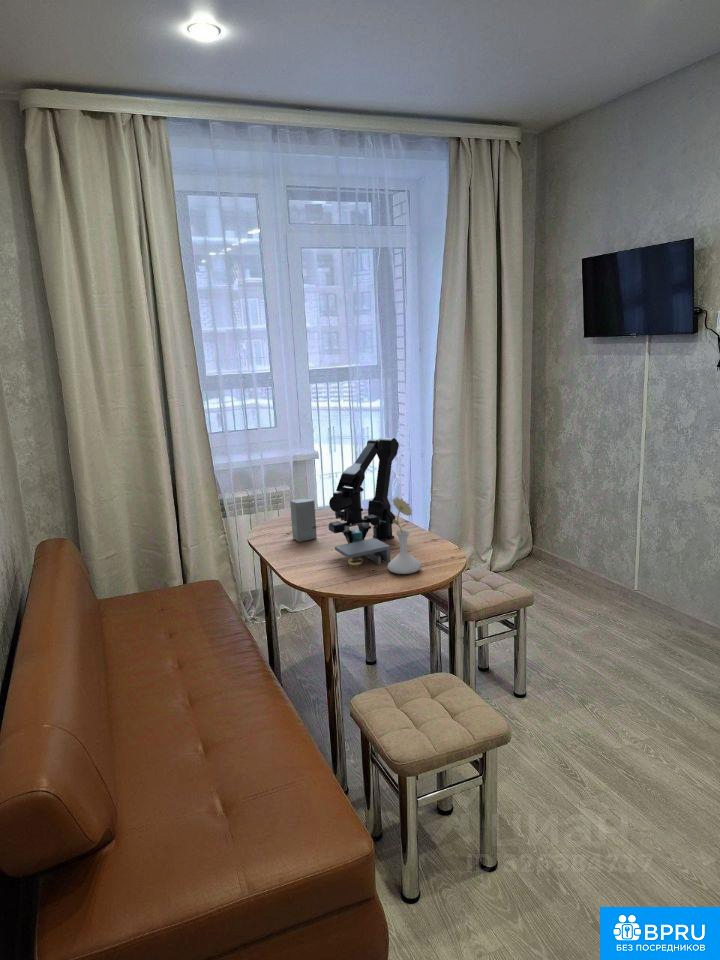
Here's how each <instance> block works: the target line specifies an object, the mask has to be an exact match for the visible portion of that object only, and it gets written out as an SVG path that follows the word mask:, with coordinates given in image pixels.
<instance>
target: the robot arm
mask: <svg viewBox="0 0 720 960" xmlns="http://www.w3.org/2000/svg"><path fill="white" fill-rule="evenodd" d="M399 447H400V444H399V442H398V440H397V439H396V438H393V437H379V438H370V439H368V440H367V442H366V445H365V447H364V448H363V450H362V451H361V453H360V454H359V455H358V457H357V459H356V460H355V462H354V463H353V464H352V465H351V466H348V467H347V468H346V469H345V470H344V471H343V472H342V473H341V474H340V475H341V476H340V478H339V481H338V483H337V486H336V492H333V493H332V497H330V498H329V502H328V505H329V508H330V509H331V511H333V512H334V516H335V519H336V520H337V521H333V522H332V521H331V522H329V523H328V531H330V532H331V533H333V534H340V533H342V534H343V536H344V537H345V539H346V542H347V544H349V543H352V530H350V528H351V527H352V528H353V527H356V526H357V527H358V530H359V531H361V532H362V537H363V540H366V539H365V538H366V537H367V535H368V532H369V530H370V529H372V531H373V532H372V533H373V534H372V537H373V538H376V539H378V540H380V541H384V540H390V539H395V535H393V526H392V525H393V524H394V523H393V519H395V520H396V515H395V514H394V513H393V512H392V511H391V503H390V501H389V499H388V498H389V496H388V495H389V489H390V480H391V473H392V472H391V471H392V465H393V460H394V459H395V458H396V457H397V455H398V451H399ZM376 455H377V458H378V467H377V473H376V474H377V476H376V482H375V483H376V484H375V491H374V497H373V498H372V500H369V501H368V507H367V515H364V516H362V515H363V514H362V513H363V511H364V508H363V507H362V500H361V493H362V492H364V488H363V487H362V485H363V483H364V481H365V479H366V475H365V473H366V471H367V469H368V468H369V466H370V465H371V463H372V462H373V460H374V458H375V457H376ZM338 519H339V520H340V521H339V520H338ZM342 521H344V522H342ZM370 524H371V526H370ZM372 526H373V527H372Z"/></svg>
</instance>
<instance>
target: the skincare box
mask: <svg viewBox="0 0 720 960" xmlns="http://www.w3.org/2000/svg"><path fill="white" fill-rule="evenodd" d="M315 503H316V502H315V500H314V499H311V498H309V497H308V498H299V499H293V500H289V504H290V516H291V517H290V518H291V519H290V520H291V531H292V532H291V533H292V539H294V540H295V541H297V542H298V543H301V542H307V541H311V540H315V539H317V537H318V536H317V523H316V522H317V521H316V507H315Z"/></svg>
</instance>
